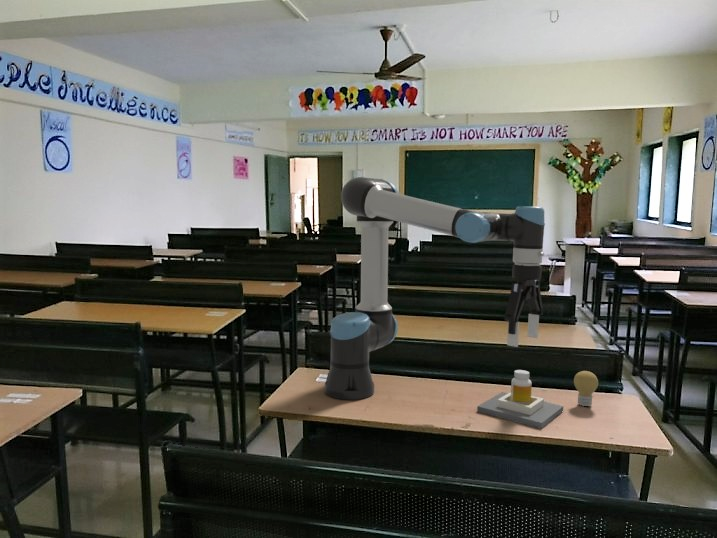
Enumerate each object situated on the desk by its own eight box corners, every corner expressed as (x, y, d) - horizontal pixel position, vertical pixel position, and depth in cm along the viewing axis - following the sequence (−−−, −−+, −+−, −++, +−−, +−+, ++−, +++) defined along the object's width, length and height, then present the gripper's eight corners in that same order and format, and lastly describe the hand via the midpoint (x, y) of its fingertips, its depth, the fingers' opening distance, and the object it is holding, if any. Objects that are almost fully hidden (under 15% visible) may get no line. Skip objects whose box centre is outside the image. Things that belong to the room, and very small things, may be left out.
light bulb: (599, 410, 151) (602, 375, 150) (576, 408, 151) (578, 374, 150) (592, 402, 157) (594, 368, 156) (569, 401, 158) (571, 367, 157)
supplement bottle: (534, 409, 146) (535, 374, 145) (515, 410, 145) (517, 375, 144) (525, 402, 152) (526, 368, 151) (507, 403, 151) (508, 369, 150)
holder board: (477, 411, 148) (477, 399, 148) (502, 396, 160) (502, 385, 160) (541, 428, 137) (542, 415, 136) (563, 411, 149) (563, 399, 149)
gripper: (521, 268, 132) (517, 352, 135) (557, 262, 152) (552, 336, 154) (493, 265, 137) (489, 347, 139) (531, 260, 156) (527, 331, 159)
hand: (522, 341), depth 147 cm, fingers open, 13 cm apart
